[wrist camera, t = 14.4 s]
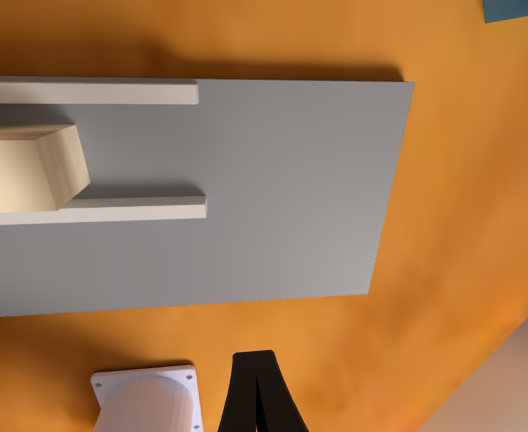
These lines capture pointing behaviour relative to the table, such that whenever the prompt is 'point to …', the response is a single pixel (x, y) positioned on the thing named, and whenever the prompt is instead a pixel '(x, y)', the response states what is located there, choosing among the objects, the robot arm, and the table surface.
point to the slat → (40, 167)
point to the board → (204, 191)
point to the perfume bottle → (504, 9)
